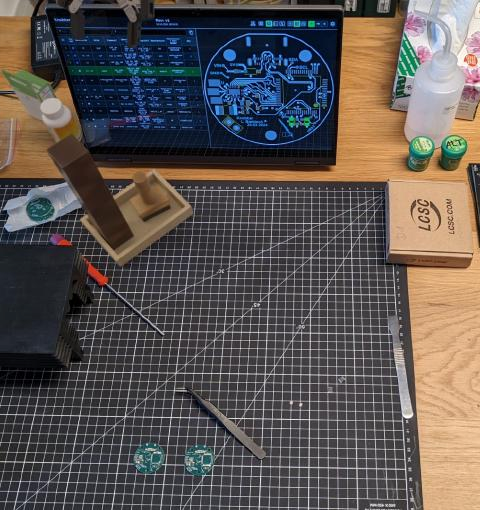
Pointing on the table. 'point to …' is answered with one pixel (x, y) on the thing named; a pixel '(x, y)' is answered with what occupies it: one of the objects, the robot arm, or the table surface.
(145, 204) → the wooden stamp
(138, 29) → the robot arm
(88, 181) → the dark brown wooden bar
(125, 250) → the tray
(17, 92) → the ink box
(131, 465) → the table surface
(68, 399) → the table surface
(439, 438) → the table surface
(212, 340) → the table surface
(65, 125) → the supplement bottle
